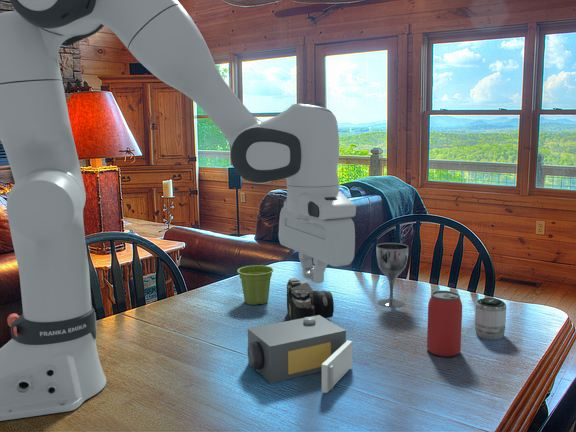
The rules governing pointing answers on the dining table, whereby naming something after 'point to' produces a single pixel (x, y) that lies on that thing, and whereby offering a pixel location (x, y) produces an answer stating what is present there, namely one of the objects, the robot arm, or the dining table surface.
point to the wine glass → (392, 267)
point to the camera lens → (490, 318)
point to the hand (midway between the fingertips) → (313, 280)
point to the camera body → (293, 347)
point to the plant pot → (255, 283)
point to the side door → (336, 366)
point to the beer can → (444, 323)
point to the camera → (307, 301)
